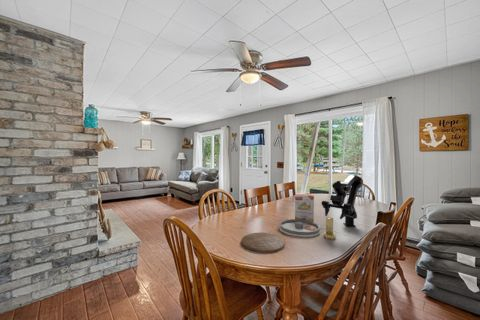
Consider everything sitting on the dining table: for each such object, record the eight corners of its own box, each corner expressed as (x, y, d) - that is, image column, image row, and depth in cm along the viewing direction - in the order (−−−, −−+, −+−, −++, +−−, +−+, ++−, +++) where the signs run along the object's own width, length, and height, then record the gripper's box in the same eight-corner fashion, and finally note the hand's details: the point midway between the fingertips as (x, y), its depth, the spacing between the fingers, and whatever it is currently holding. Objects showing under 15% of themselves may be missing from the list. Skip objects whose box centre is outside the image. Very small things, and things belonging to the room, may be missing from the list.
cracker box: (294, 221, 158) (294, 194, 158) (295, 219, 164) (295, 193, 164) (313, 223, 154) (313, 195, 154) (313, 221, 160) (313, 194, 160)
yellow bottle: (322, 235, 130) (322, 216, 130) (333, 235, 130) (333, 216, 130) (325, 239, 123) (325, 219, 123) (337, 239, 123) (337, 220, 123)
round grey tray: (277, 222, 156) (277, 216, 156) (314, 223, 153) (314, 217, 153) (281, 236, 129) (281, 229, 129) (325, 237, 126) (325, 230, 126)
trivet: (235, 238, 126) (235, 235, 126) (271, 233, 135) (271, 230, 135) (252, 256, 102) (252, 253, 102) (293, 249, 111) (293, 245, 111)
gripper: (322, 188, 140) (314, 207, 133) (351, 192, 126) (344, 213, 119) (327, 198, 145) (320, 217, 138) (356, 203, 132) (349, 223, 124)
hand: (332, 217), depth 130 cm, fingers open, 9 cm apart
